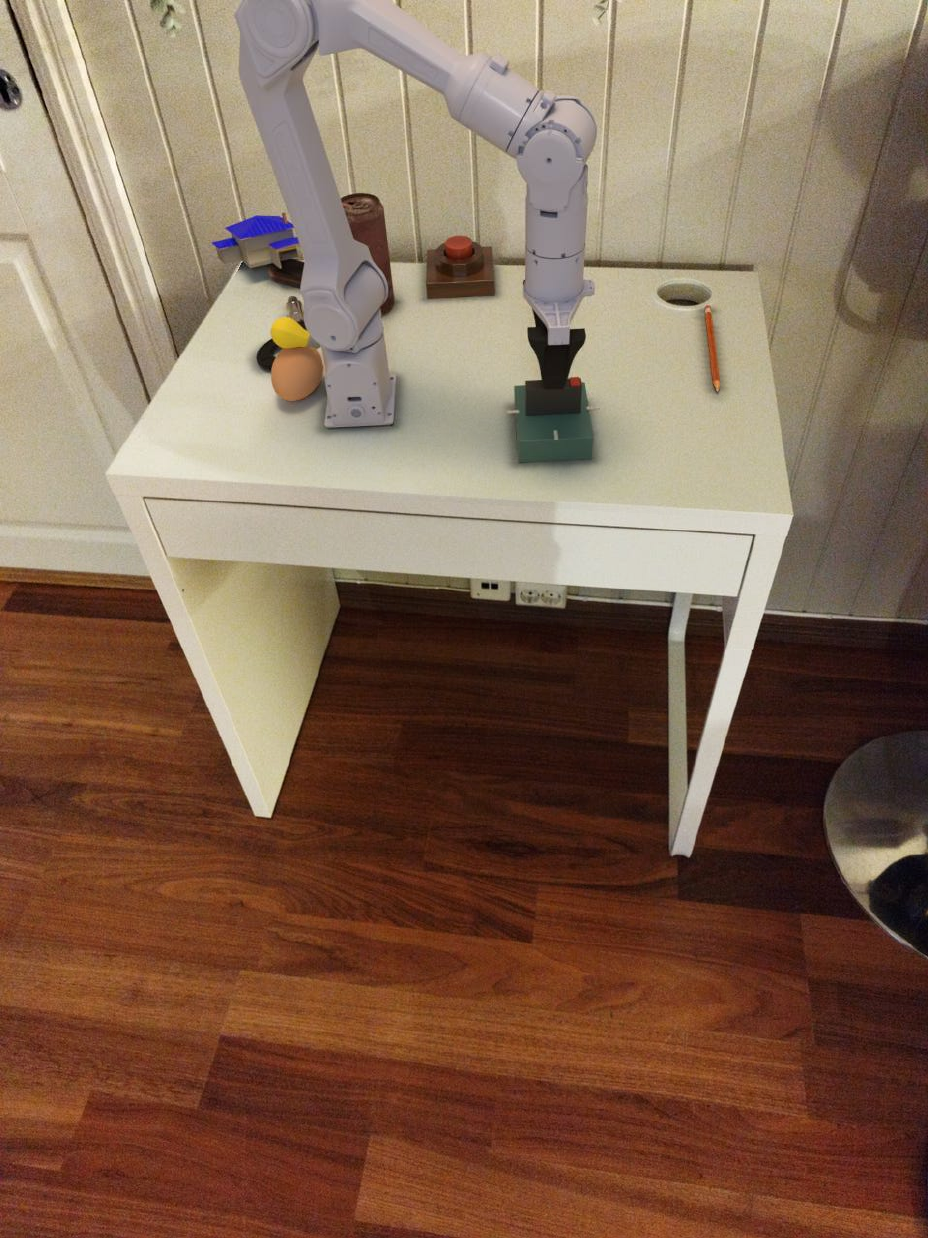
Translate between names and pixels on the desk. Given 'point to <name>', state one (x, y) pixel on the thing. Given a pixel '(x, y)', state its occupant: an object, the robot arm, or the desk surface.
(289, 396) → the egg
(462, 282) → the button block
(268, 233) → the house
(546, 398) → the battery with red terminal
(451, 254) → the button
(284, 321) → the light bulb
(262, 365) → the micrometer
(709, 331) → the pencil
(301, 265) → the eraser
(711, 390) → the desk surface
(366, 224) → the can
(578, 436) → the panel
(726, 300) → the desk surface
